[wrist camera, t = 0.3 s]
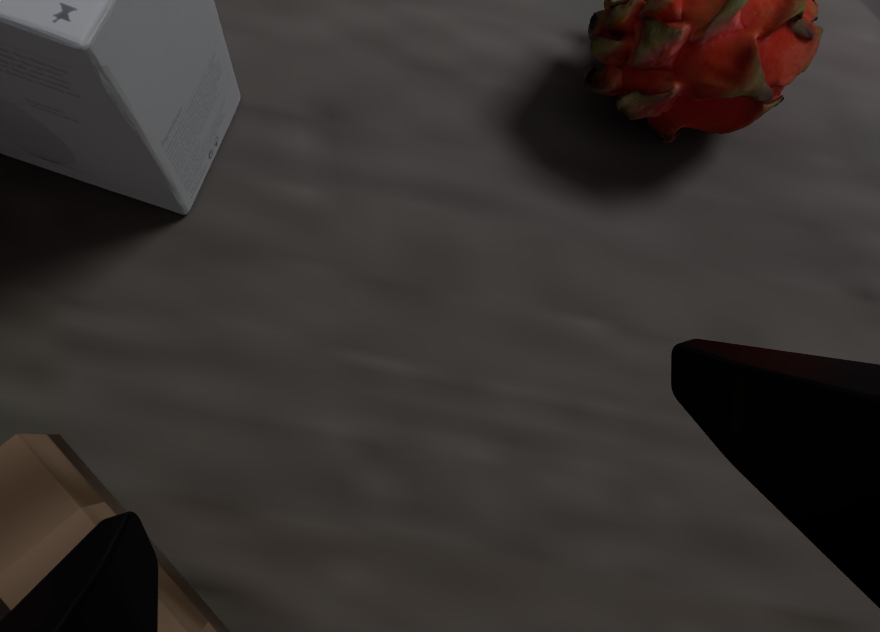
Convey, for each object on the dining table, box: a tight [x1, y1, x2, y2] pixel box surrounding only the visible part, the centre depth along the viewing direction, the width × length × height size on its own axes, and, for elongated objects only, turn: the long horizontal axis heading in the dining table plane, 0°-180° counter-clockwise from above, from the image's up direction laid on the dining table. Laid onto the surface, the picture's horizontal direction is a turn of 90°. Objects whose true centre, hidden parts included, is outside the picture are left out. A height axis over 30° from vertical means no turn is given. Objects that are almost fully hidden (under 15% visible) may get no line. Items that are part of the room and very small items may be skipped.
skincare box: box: [0, 0, 241, 215], centre depth 20 cm, size 10×6×10 cm, turn 73°
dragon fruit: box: [584, 0, 823, 144], centre depth 26 cm, size 8×8×12 cm
